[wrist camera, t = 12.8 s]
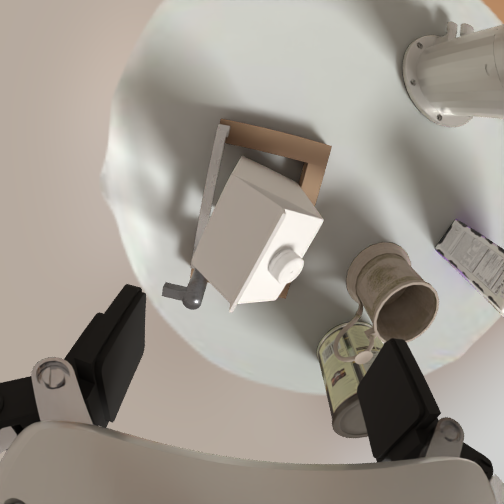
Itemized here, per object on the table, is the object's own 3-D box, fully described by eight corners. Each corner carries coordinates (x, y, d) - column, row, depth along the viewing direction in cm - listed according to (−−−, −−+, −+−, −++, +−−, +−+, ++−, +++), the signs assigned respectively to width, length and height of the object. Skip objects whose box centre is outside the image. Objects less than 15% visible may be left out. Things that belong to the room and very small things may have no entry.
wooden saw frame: (223, 119, 31) (220, 118, 29) (326, 144, 32) (331, 146, 30) (193, 269, 39) (190, 278, 36) (283, 288, 40) (285, 298, 37)
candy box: (494, 262, 38) (555, 313, 23) (475, 289, 40) (530, 348, 25) (455, 216, 35) (532, 266, 20) (432, 249, 37) (501, 312, 22)
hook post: (181, 250, 35) (161, 286, 27) (214, 257, 35) (202, 295, 27) (179, 264, 36) (160, 301, 28) (211, 271, 36) (199, 311, 28)
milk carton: (215, 208, 36) (177, 290, 18) (241, 154, 33) (224, 184, 16) (269, 233, 37) (280, 332, 19) (297, 182, 34) (339, 241, 17)
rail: (222, 124, 32) (217, 123, 27) (232, 126, 32) (229, 126, 28) (196, 251, 38) (189, 267, 34) (205, 253, 38) (199, 269, 34)
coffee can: (366, 370, 46) (390, 435, 33) (309, 369, 46) (322, 440, 33) (388, 321, 42) (424, 387, 29) (326, 318, 42) (349, 392, 29)
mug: (396, 229, 36) (443, 269, 25) (418, 283, 39) (458, 331, 28) (304, 284, 39) (319, 343, 28) (335, 332, 43) (354, 392, 32)
